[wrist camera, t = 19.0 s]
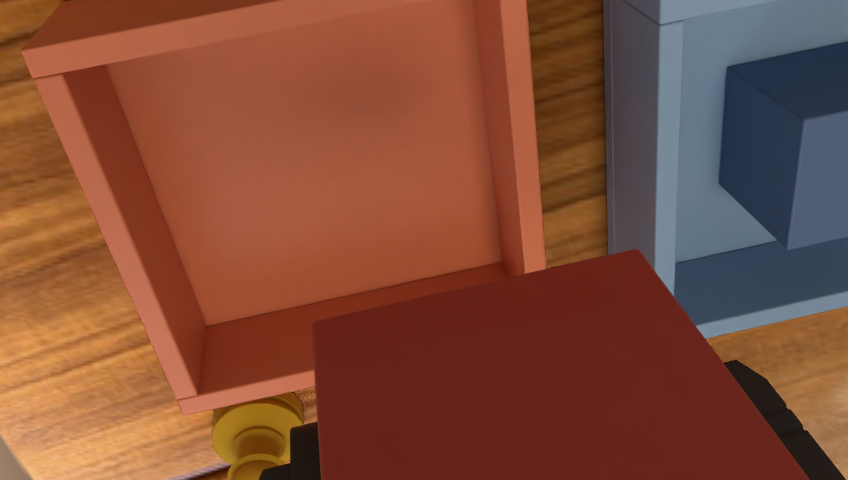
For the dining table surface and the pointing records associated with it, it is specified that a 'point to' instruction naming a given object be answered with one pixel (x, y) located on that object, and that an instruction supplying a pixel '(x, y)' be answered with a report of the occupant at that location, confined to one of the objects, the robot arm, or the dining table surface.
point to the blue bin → (706, 157)
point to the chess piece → (256, 434)
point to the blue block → (789, 144)
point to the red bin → (292, 165)
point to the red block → (537, 386)
